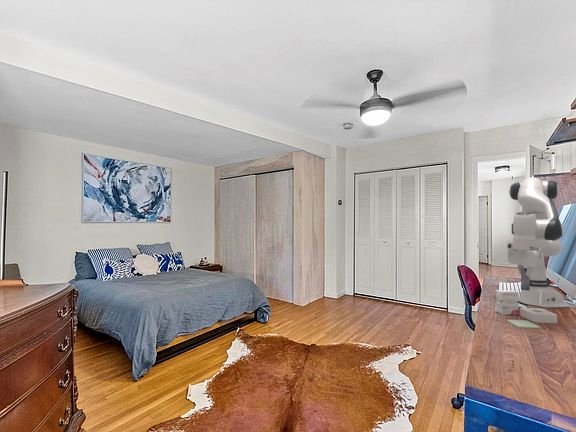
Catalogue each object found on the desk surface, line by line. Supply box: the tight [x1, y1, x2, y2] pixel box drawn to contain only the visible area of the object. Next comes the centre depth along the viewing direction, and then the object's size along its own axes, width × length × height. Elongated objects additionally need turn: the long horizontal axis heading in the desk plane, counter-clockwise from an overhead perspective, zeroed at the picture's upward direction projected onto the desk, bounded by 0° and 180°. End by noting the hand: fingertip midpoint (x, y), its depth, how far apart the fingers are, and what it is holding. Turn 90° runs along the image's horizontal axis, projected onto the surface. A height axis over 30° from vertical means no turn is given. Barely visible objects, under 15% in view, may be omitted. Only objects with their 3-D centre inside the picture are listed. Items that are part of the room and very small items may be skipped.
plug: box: [520, 268, 530, 291], centre depth 136 cm, size 3×3×10 cm
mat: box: [506, 319, 542, 330], centre depth 135 cm, size 9×9×1 cm
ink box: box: [495, 289, 520, 316], centre depth 151 cm, size 9×5×12 cm, turn 84°
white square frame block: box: [519, 307, 558, 324], centre depth 142 cm, size 10×10×4 cm
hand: (525, 275), depth 136 cm, fingers closed on plug, 3 cm apart
